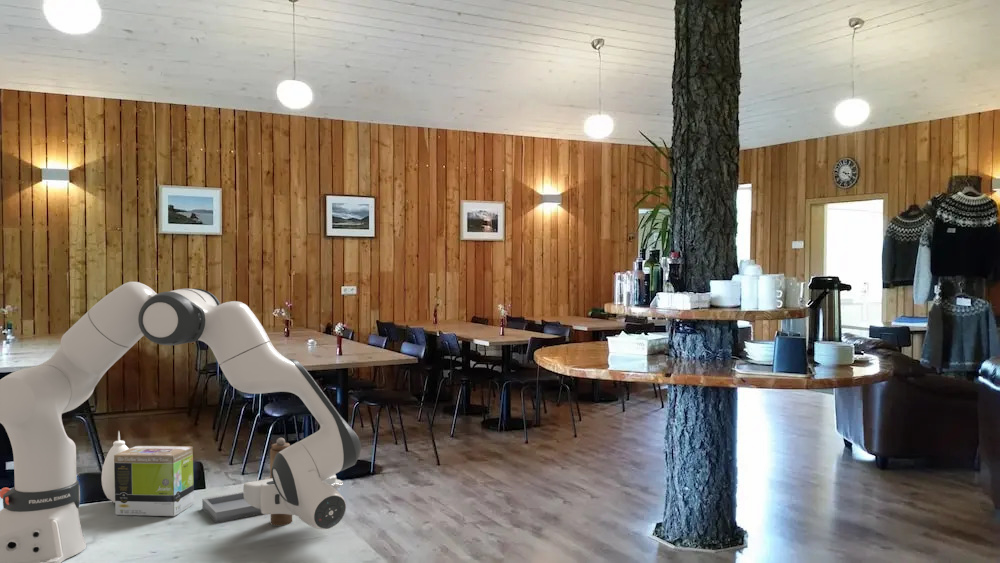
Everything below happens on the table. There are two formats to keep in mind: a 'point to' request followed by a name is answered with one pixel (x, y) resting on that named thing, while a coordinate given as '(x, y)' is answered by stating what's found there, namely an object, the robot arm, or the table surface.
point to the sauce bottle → (111, 468)
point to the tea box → (154, 480)
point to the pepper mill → (276, 448)
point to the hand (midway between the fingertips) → (279, 478)
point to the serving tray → (228, 507)
